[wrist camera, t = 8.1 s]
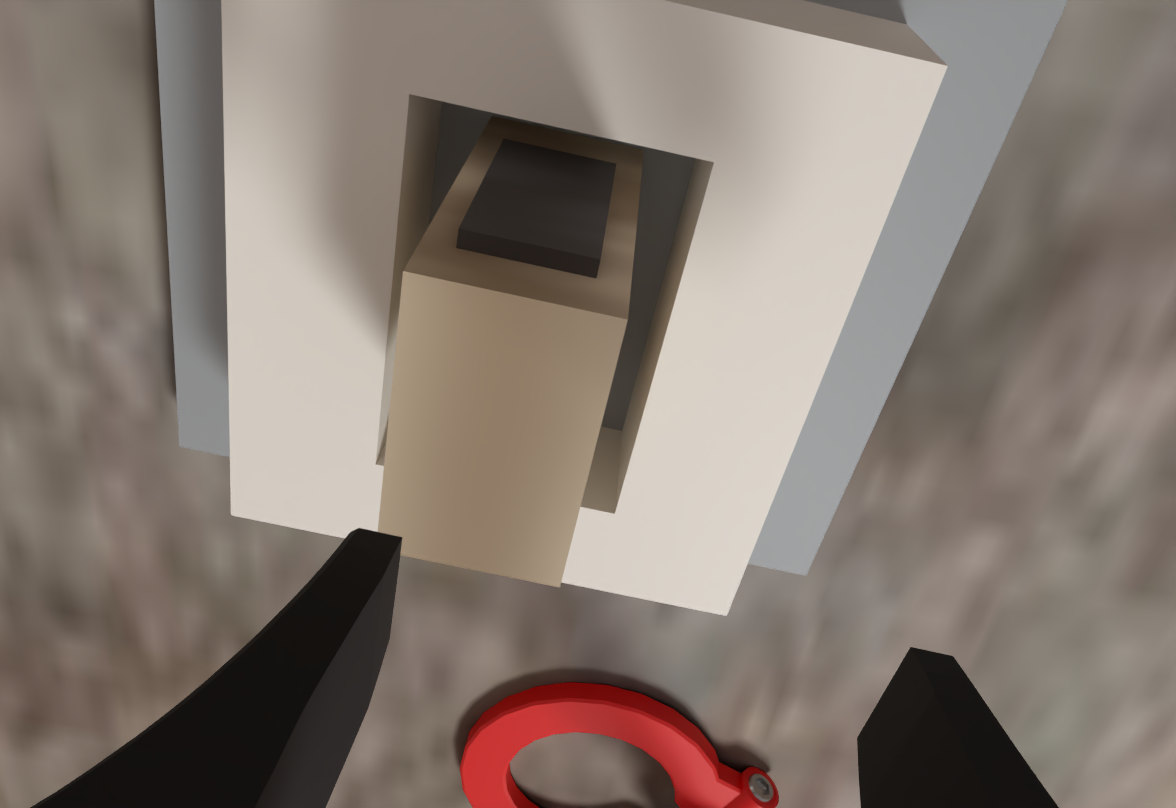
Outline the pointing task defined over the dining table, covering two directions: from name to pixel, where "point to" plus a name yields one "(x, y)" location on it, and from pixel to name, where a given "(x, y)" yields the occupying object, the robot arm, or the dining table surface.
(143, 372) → the dining table surface
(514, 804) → the tow hook
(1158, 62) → the dining table surface
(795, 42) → the slotted block
